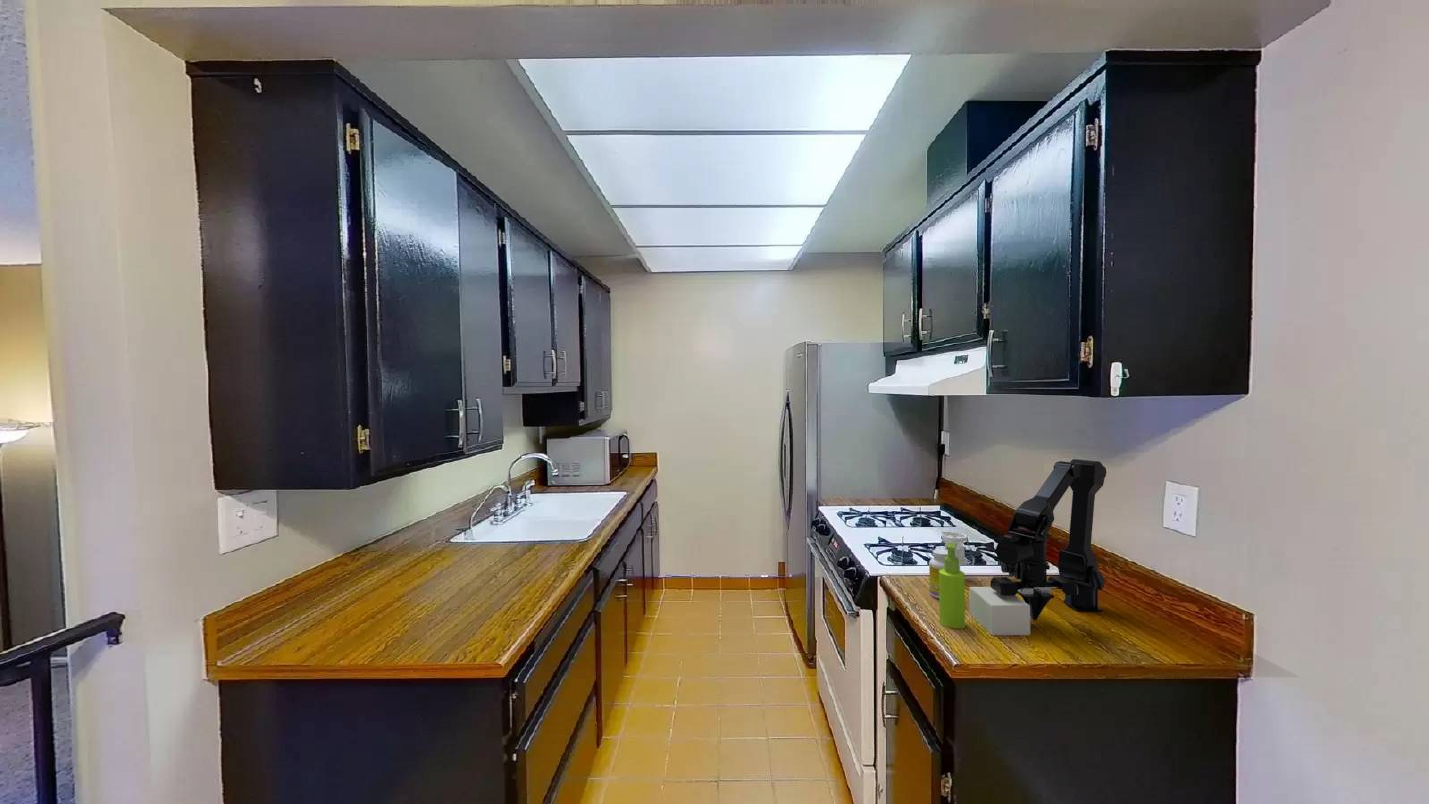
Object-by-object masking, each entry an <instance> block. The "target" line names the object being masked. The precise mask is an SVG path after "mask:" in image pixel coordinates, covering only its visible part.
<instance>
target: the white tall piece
mask: <svg viewBox="0 0 1429 804" xmlns="http://www.w3.org/2000/svg"><path fill="white" fill-rule="evenodd" d="M950 536H951V537H950ZM967 541H968V535H966V534H965V533H962V532H955V531H952V530H944V529H942V530H941V542H942V543H944V550H947V551H948V549H947V544H948V543H949V542H950V543H957V545H956V548H955V557H956V558H958V559H959V570H960V571H961V566H966V565H967V564H968V558H967V557H965V544H964V542H967Z"/></svg>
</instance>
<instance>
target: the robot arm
mask: <svg viewBox="0 0 1429 804" xmlns="http://www.w3.org/2000/svg"><path fill="white" fill-rule="evenodd" d="M1106 468H1107V467H1105V466H1104V465H1103V463H1102V461H1099V460H1090V459H1079V458H1073V459H1072V460H1071V461H1063V460H1060V461H1056V462H1054V465H1053V469H1052V471H1051V472H1050V474H1049V475H1048V476H1047V478H1046V480H1044V482H1043V484H1042V485H1041V486H1040V487H1039V489H1038V491H1037V492H1036V494H1035V495H1034V496H1033V497H1032V498H1030V499H1028V500H1025V501H1023V502H1022V503H1021V505H1019V506H1018V507H1017V508H1016V510H1015V511H1014V513H1013V515H1012V517H1011V520H1010V523H1009V524H1008V527H1007V529H1006V534H1005V535H1003V537H1002V540H1001V541H999V542H998V543H997V545H996V547H995V554H996V557H997V559H999V561H1000V570H1001V573H1003V574H1007V573H1008V576H1009V577H1014V579H1016V580H1019V581H1013V580H1012V579H1010V578H1009V577H1007V576H994V577H993V576H992V578H991V579H990V587H991V588H992V589H994V590H995V591H996V592H997V593H999V594H1000V595H1003V596H1015V595H1016V596H1017V594H1018V595H1019V596H1021V598H1022V600H1023V601H1024V602H1026V603H1027V604H1028V605H1029V606H1030V620H1032V621H1038V618H1039V617H1040V615H1041V614H1042V611H1043V610H1044V608H1045V607H1046V605H1047V604H1048V603H1049V601H1050V600H1051V599H1055V595H1053V594H1052V590H1061V592H1062V593H1063V594H1064V599H1063V600H1062V602H1063V603H1064V604H1065V605H1067V606H1069V607H1070V608H1072V609H1074V610H1075V611H1077V612H1103V608H1101V607H1099V591H1103V589H1104V588H1105V586H1106V579H1105V577H1104V576H1103V575H1102V573H1101V571H1100V570H1099V568H1098V560H1097V558H1096V557H1097V556H1096V555H1095V554H1094V552H1093V550H1092V548H1091V547H1092V537H1093V525H1094V512H1095V511H1094V510H1095V498H1096V494H1097V493H1098V492H1099V491H1100V490H1101V489H1102V487H1103V486H1104V484H1105V483H1104V482H1105V478H1106V476H1107V469H1106ZM1069 488H1070V489H1071V491H1072V496H1071V498H1072V499H1071V509H1070V510H1071V511H1070V520H1069V521H1070V523H1069V532H1068V533H1069V534H1068V545H1067V546H1066V547H1065V548H1064V549H1063V550H1062V549H1061V550H1059V552H1058V561H1057V569H1058V573H1059V574H1058V575H1059V576H1057V575H1056V576H1053V575H1052V576H1051V575H1049V577H1048V578H1047V575H1048V574H1047V570H1048V571H1049V570H1051V569H1050V566H1051V565H1049V564H1047V540H1050V539H1051V538H1052V537H1051V535H1050V534H1049V533H1048V532H1049V531H1050V530H1051V528H1052V526H1053V523H1054V520H1055V514H1054V511H1055V508H1056V507H1057V505H1058V503H1059V502H1060V501H1061V499H1062V498H1063V496H1064V495H1065V494H1066V492H1067V490H1068V489H1069ZM1007 534H1008V535H1007Z"/></svg>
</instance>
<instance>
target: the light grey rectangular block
mask: <svg viewBox="0 0 1429 804" xmlns="http://www.w3.org/2000/svg"><path fill="white" fill-rule="evenodd" d="M968 591H969V593H968V594H969V596H968V597H969V615H971V616H972V617H973V618H974V620H976V621H977V622H978V623H979V625H981V627H982V628H984V629H985V630H986V631H987V632H988V633H989V635H991V636H1031V616H1030V606H1029V605H1028V604H1027V603H1026V602H1024V600H1023V599H1021V598H1020V597H1019V596H1018V595H1017V594H1016V595H1015V596H1003V595H1000V594H999V593H997V592H996V591H995V590H994V589H992V588H991V586H970V587H969V589H968Z"/></svg>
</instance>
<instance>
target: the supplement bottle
mask: <svg viewBox="0 0 1429 804" xmlns="http://www.w3.org/2000/svg"><path fill="white" fill-rule="evenodd" d="M932 556H933V558H931V559H930V560H929V562H928V563H929V571H928V572H929V579H928V580H929V581H928V582H929V594H930V596H931V597H933V598H935V599H938V600H939V570H940V569H944V557H946V556H948V551H947V550H945V549H942V548H941V549H940V548H936V549H933V551H932Z"/></svg>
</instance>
